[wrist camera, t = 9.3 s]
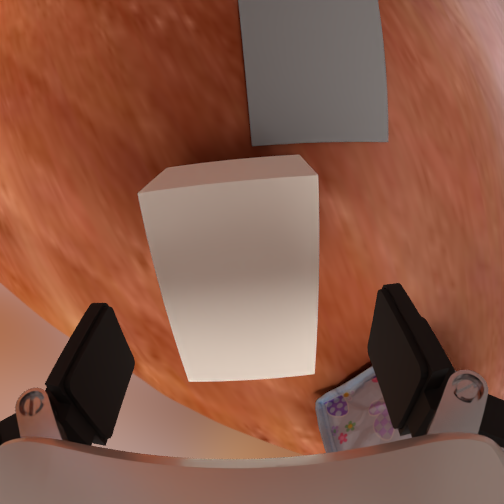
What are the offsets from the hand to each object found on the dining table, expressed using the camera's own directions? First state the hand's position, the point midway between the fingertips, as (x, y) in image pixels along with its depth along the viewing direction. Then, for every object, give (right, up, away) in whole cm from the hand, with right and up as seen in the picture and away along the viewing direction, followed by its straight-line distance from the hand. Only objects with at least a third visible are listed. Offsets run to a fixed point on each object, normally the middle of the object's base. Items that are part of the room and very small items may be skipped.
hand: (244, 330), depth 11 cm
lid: (0, +3, +7) cm, 7 cm away
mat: (+4, +15, +6) cm, 17 cm away
